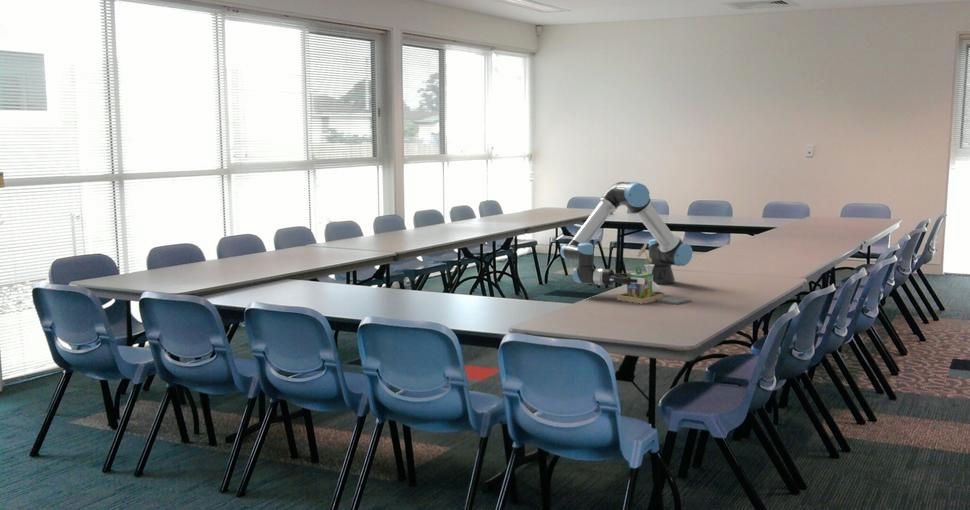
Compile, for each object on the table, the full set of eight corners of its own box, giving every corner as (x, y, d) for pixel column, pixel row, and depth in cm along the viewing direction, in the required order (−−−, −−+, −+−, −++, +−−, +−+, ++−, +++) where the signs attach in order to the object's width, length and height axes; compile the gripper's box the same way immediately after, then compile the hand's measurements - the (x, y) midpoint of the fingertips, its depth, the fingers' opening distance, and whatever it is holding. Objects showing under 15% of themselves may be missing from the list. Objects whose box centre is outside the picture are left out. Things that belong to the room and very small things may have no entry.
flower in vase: (646, 290, 460) (646, 240, 457) (665, 292, 452) (666, 242, 449) (630, 293, 451) (630, 243, 448) (650, 296, 443) (650, 244, 439)
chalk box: (643, 300, 426) (643, 268, 424) (626, 298, 432) (626, 267, 430) (653, 297, 433) (653, 266, 431) (636, 295, 439) (636, 265, 437)
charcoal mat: (655, 301, 428) (655, 299, 428) (671, 298, 435) (671, 296, 435) (675, 304, 419) (675, 302, 419) (691, 301, 426) (691, 299, 426)
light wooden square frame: (617, 300, 434) (617, 294, 433) (638, 296, 443) (638, 291, 443) (641, 304, 422) (641, 298, 422) (662, 300, 432) (662, 294, 431)
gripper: (613, 281, 451) (657, 283, 439) (594, 288, 432) (639, 291, 420) (613, 265, 450) (657, 268, 438) (594, 272, 431) (639, 275, 419)
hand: (648, 279), depth 429 cm, fingers closed on chalk box, 10 cm apart
